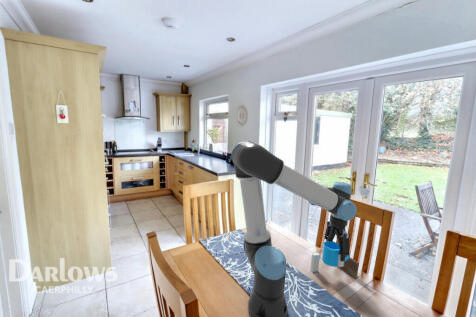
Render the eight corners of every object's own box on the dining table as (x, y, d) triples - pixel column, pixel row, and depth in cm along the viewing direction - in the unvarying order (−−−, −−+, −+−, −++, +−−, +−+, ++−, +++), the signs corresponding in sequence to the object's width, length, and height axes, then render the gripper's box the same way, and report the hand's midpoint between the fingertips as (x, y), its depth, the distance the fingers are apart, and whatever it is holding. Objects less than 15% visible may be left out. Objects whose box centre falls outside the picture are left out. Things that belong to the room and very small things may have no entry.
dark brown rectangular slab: (341, 265, 115) (343, 251, 114) (358, 277, 107) (360, 262, 106) (338, 267, 114) (340, 252, 113) (355, 278, 106) (357, 263, 105)
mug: (323, 265, 103) (325, 249, 102) (320, 255, 111) (322, 240, 110) (351, 269, 101) (353, 252, 99) (346, 258, 109) (348, 243, 107)
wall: (344, 265, 116) (346, 249, 114) (312, 272, 110) (314, 254, 108) (342, 264, 117) (344, 247, 116) (310, 270, 111) (312, 252, 110)
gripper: (363, 225, 94) (356, 274, 97) (332, 206, 114) (328, 247, 117) (347, 226, 92) (341, 276, 96) (319, 207, 112) (315, 249, 116)
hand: (334, 260), depth 106 cm, fingers closed on mug, 8 cm apart
